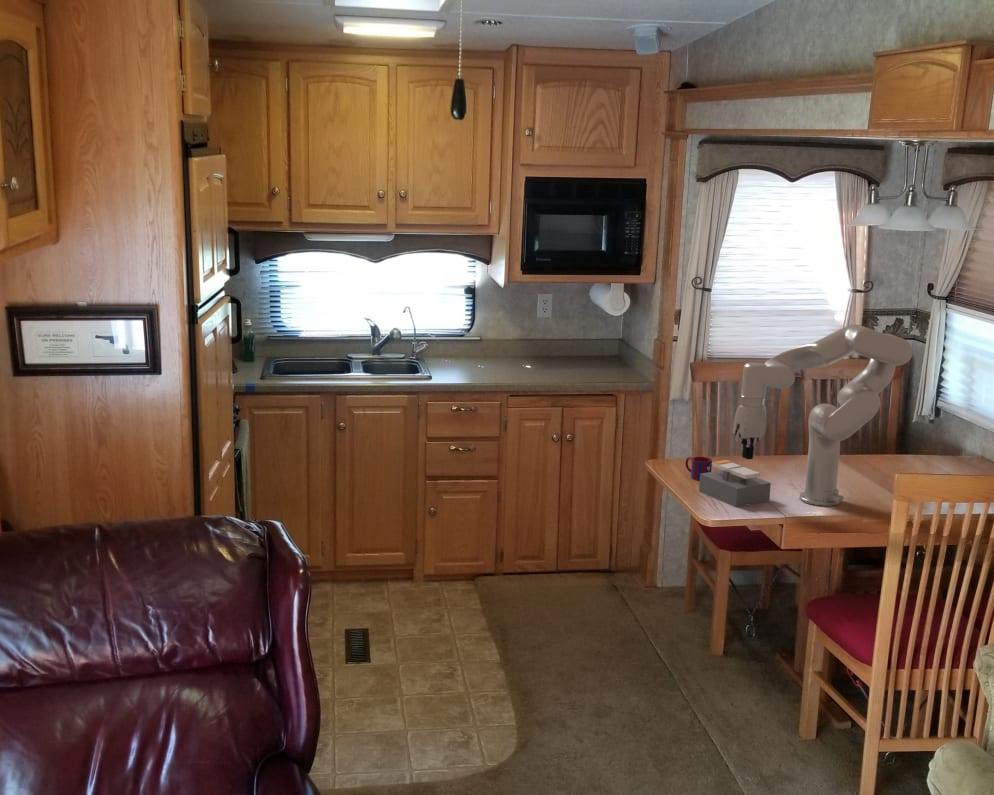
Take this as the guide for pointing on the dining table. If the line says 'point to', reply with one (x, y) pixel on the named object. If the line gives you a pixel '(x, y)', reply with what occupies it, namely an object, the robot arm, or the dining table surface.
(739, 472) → the rocker
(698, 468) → the mug
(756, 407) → the robot arm
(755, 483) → the switch box
